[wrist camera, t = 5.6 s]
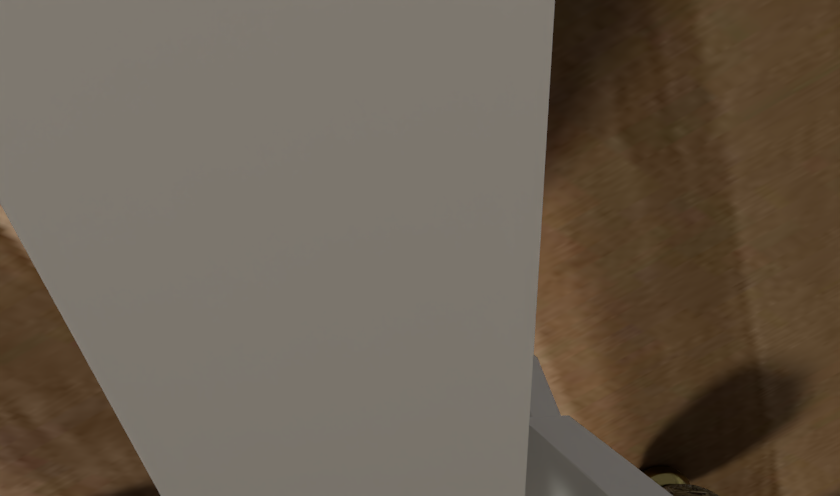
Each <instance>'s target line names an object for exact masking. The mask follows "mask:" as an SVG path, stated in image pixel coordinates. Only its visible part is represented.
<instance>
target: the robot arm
mask: <svg viewBox="0 0 840 496" xmlns="http://www.w3.org/2000/svg"><path fill="white" fill-rule="evenodd" d="M525 496H673V495H672V494H670V493H669V492H668V491H666V490H665V489H664V488H662V487H661V486H660V485H658V484H657V483H656V482H655V481H653V480H652V479H651V478H649V477H648V476H647V475H645V474H644V473H643V472H642V471H640V470H639V469H638V468H636V467H635V466H634V465H632V464H631V463H630V462H629V461H627V460H626V459H625V458H623V457H622V456H621V455H619V454H618V453H617V452H616V451H614V450H613V449H612V448H610V447H609V446H608V445H606V444H605V443H604V442H603V441H601V440H600V439H599V438H597V437H596V436H595V435H593V434H592V433H591V432H590V431H588V430H587V429H586V428H584V427H583V426H582V425H580V424H579V423H578V422H577V421H575V420H574V419H573V418H571V417H570V416H561V415H560V412H559V410H558V407H557V405H556V402H555V400H554V397H553V395H552V393H551V390H550V388H549V385H548V383H547V380H546V378H545V375H544V373H543V371H542V368H541V366H540V363H539V361H538V358H537V357H536V356H535V355H533V370H532V386H531V403H530V419H529V435H528V452H527V468H526V485H525Z"/></svg>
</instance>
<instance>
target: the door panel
mask: <svg viewBox="0 0 840 496" xmlns="http://www.w3.org/2000/svg"><path fill="white" fill-rule="evenodd" d="M554 8H555V0H0V204H1V206H2V208H3V209H4V211H5V213H6V215H7V217H8V218H9V220H10V222H11V224H12V226H13V228H14V229H15V231H16V233H17V235H18V237H19V238H20V240H21V242H22V244H23V246H24V248H25V249H26V251H27V253H28V255H29V257H30V259H31V260H32V262H33V264H34V266H35V268H36V269H37V271H38V273H39V275H40V277H41V279H42V280H43V282H44V284H45V286H46V288H47V289H48V291H49V293H50V295H51V297H52V299H53V300H54V302H55V304H56V306H57V308H58V310H59V311H60V313H61V315H62V317H63V319H64V320H65V322H66V324H67V326H68V328H69V330H70V331H71V333H72V335H73V337H74V339H75V340H76V342H77V344H78V346H79V348H80V350H81V351H82V353H83V355H84V357H85V359H86V361H87V362H88V364H89V366H90V368H91V370H92V371H93V373H94V375H95V377H96V379H97V381H98V382H99V384H100V386H101V388H102V390H103V391H104V393H105V395H106V397H107V399H108V401H109V402H110V404H111V406H112V408H113V410H114V412H115V413H116V415H117V417H118V419H119V421H120V422H121V424H122V426H123V428H124V430H125V432H126V433H127V435H128V437H129V439H130V441H131V442H132V444H133V446H134V448H135V450H136V452H137V453H138V455H139V457H140V459H141V461H142V463H143V464H144V466H145V468H146V470H147V472H148V473H149V475H150V477H151V479H152V481H153V483H154V484H155V486H156V488H157V490H158V492H159V493H160V495H161V496H525V485H526V468H527V452H528V435H529V419H530V403H531V386H532V370H533V353H534V337H535V320H536V304H537V287H538V271H539V255H540V238H541V222H542V205H543V189H544V172H545V156H546V139H547V123H548V107H549V90H550V74H551V57H552V41H553V24H554Z"/></svg>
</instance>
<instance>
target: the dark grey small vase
mask: <svg viewBox="0 0 840 496" xmlns="http://www.w3.org/2000/svg"><path fill="white" fill-rule="evenodd" d="M643 473H644V474H645V475H647V476H648V477H649V478H651V479H652V480H653V481H655V482H656V483H657V484H658V485H660V486H661V487H662V488H664V489H665V490H666V491H668V492H669V493H670V494H672V495H673V496H718V495H717V494H715V493H713V492H711V491H710V490H708V489H705V488H702V487H699V486H696V485H690V483H689V480H688V479H687V478H686V476H684V475H683V474H682V473H681V472H679V471H678V470H676V469H675V468H672V467H669V466H656V467H652V468H649V469H647V470H645V471H643Z"/></svg>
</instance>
